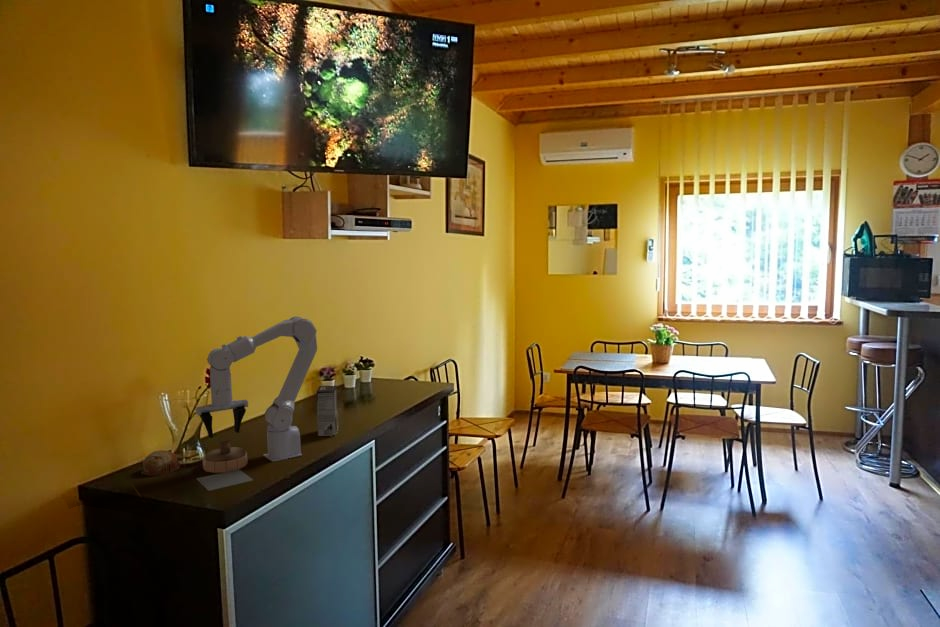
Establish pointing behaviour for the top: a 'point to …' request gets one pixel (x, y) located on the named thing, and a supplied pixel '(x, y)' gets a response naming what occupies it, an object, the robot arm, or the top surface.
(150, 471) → the bread roll
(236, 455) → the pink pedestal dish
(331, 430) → the coffee box
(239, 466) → the bowl
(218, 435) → the top surface
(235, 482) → the mat
